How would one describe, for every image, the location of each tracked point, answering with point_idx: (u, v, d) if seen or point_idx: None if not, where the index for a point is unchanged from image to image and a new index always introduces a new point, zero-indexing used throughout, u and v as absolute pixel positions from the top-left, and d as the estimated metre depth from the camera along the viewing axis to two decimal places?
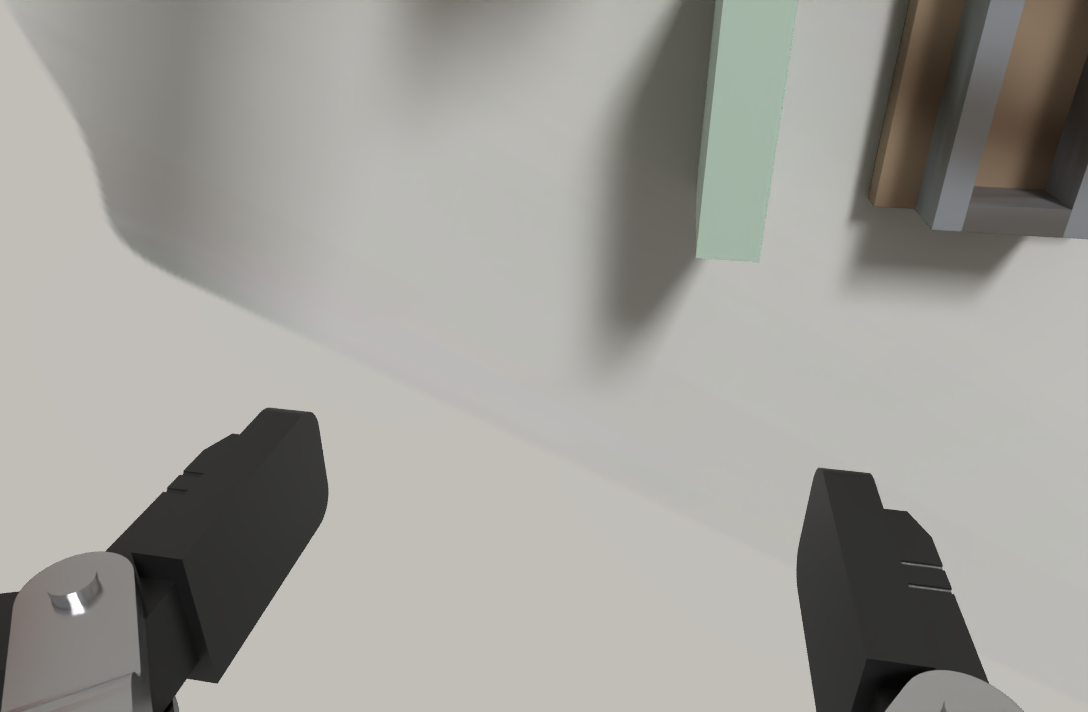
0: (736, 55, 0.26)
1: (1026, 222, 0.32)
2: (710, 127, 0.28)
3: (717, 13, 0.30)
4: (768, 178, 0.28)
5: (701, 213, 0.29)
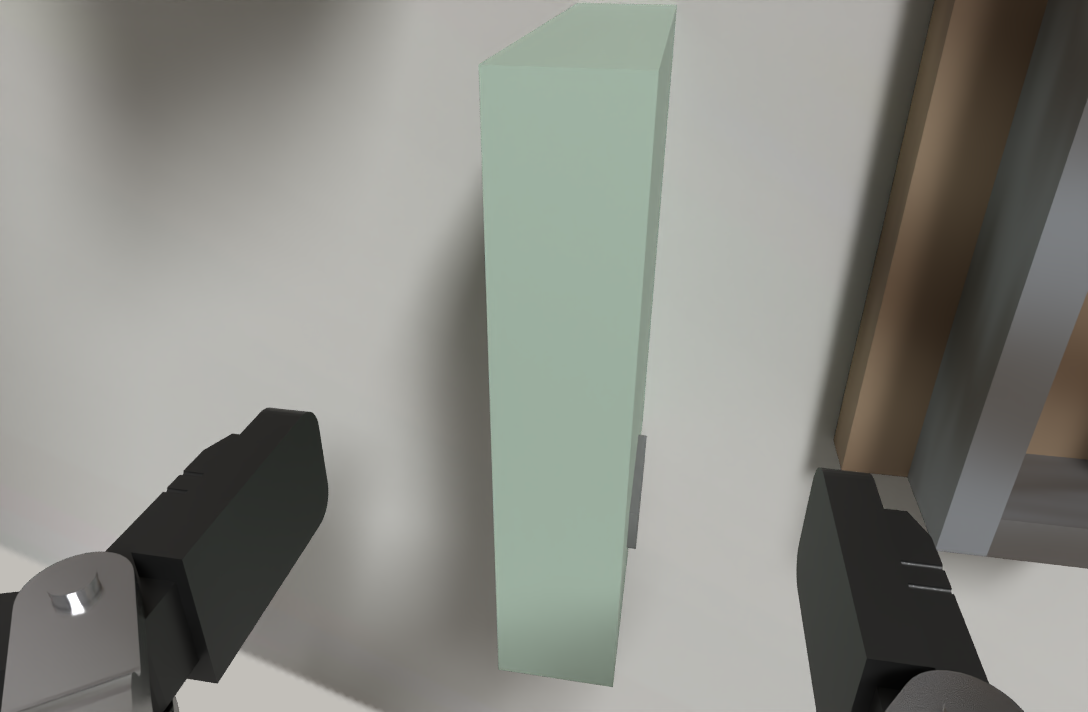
0: (527, 365, 0.12)
1: None
2: (494, 479, 0.14)
3: None
4: (615, 568, 0.14)
5: (498, 608, 0.15)
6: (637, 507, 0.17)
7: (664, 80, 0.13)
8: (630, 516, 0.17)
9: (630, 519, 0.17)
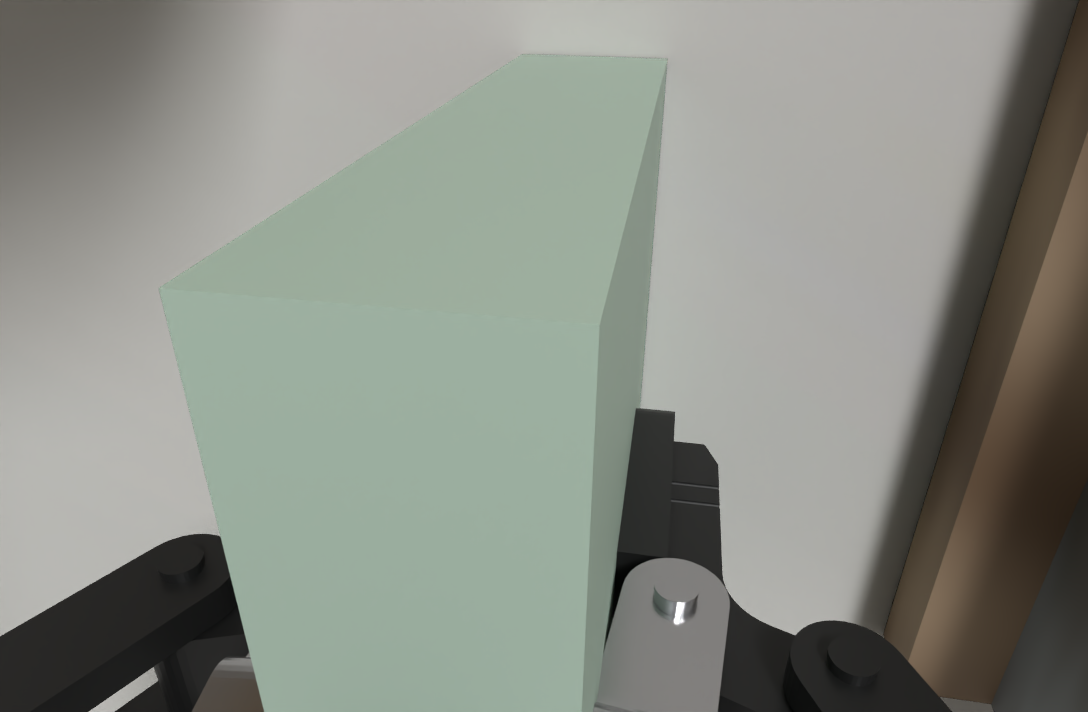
0: None
1: None
2: None
3: None
4: None
5: None
6: None
7: (637, 229, 0.07)
8: None
9: None
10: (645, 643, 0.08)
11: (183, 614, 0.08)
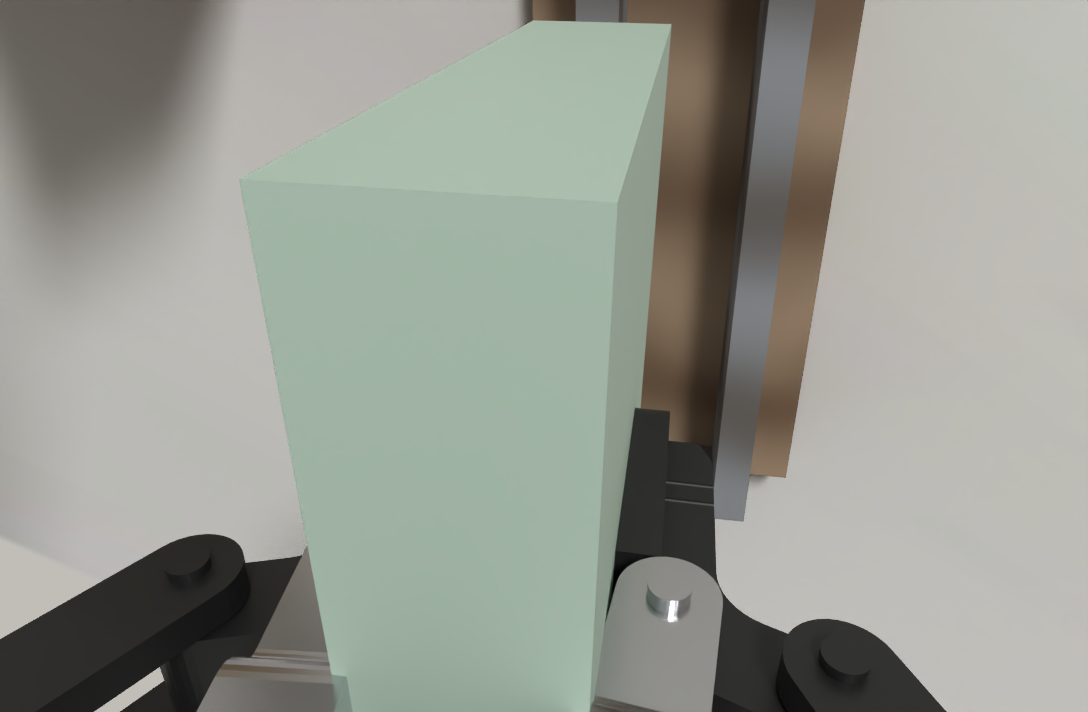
0: (397, 680, 0.07)
1: None
2: None
3: None
4: None
5: None
6: None
7: (645, 163, 0.08)
8: None
9: None
10: (638, 641, 0.08)
11: (189, 615, 0.08)
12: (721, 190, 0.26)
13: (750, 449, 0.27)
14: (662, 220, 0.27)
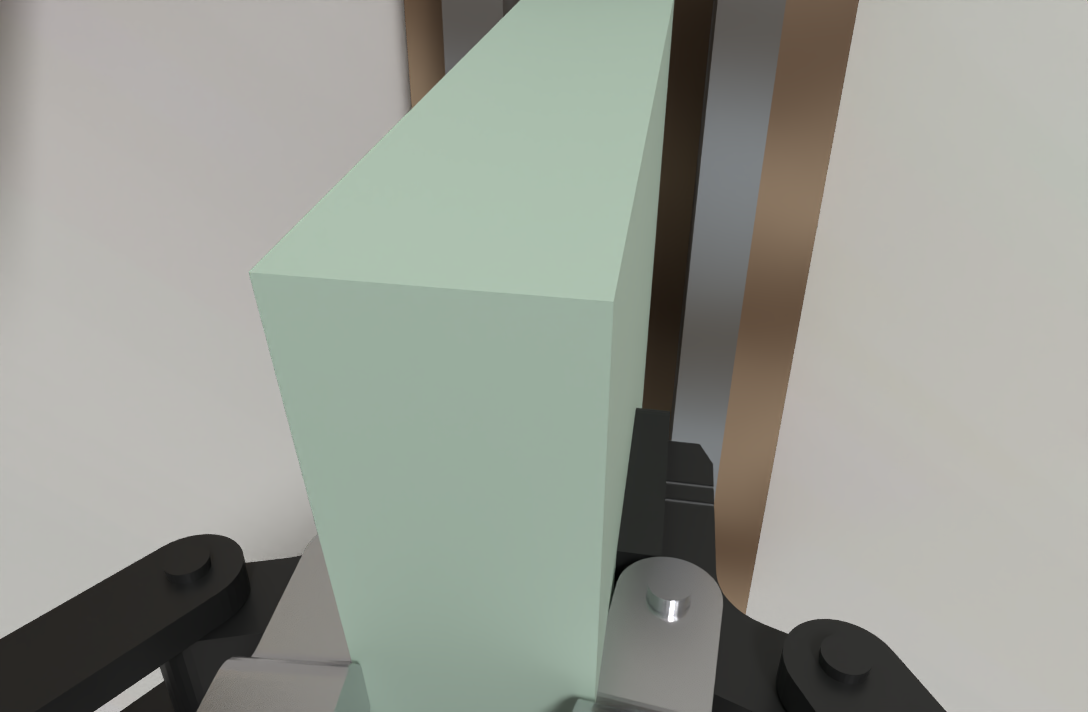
0: (417, 685, 0.08)
1: None
2: None
3: None
4: None
5: None
6: None
7: (645, 184, 0.08)
8: None
9: None
10: (638, 642, 0.08)
11: (190, 615, 0.08)
12: (659, 290, 0.20)
13: None
14: None
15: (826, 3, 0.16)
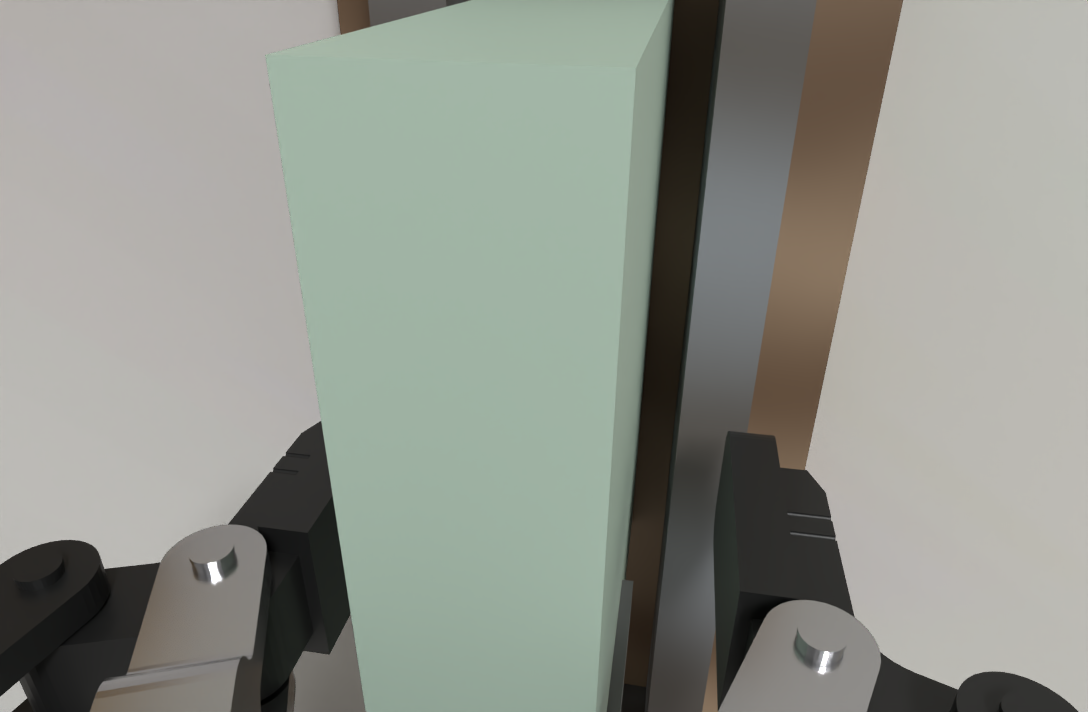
0: (412, 587, 0.07)
1: None
2: None
3: None
4: None
5: None
6: None
7: (654, 89, 0.08)
8: None
9: None
10: (798, 698, 0.08)
11: (34, 621, 0.08)
12: (652, 362, 0.17)
13: None
14: None
15: (858, 25, 0.13)
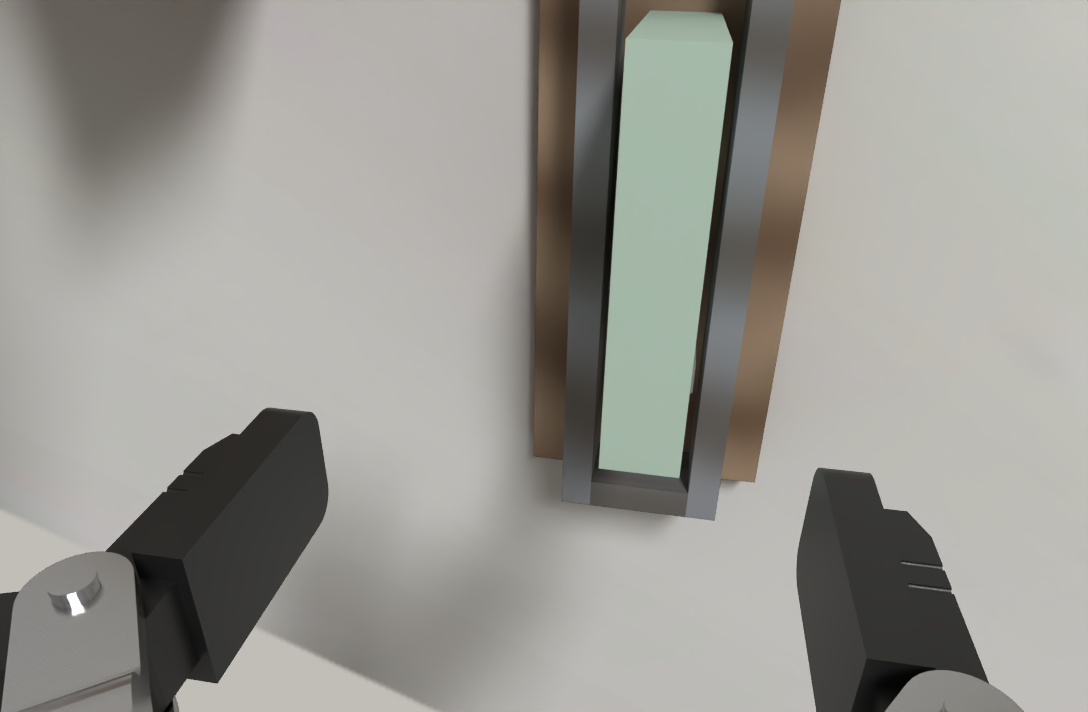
0: (639, 233, 0.20)
1: (648, 501, 0.32)
2: (609, 317, 0.21)
3: None
4: (687, 382, 0.21)
5: (603, 417, 0.22)
6: (694, 361, 0.24)
7: None
8: None
9: None
10: None
11: None
12: None
13: (721, 456, 0.30)
14: None
15: (815, 34, 0.26)
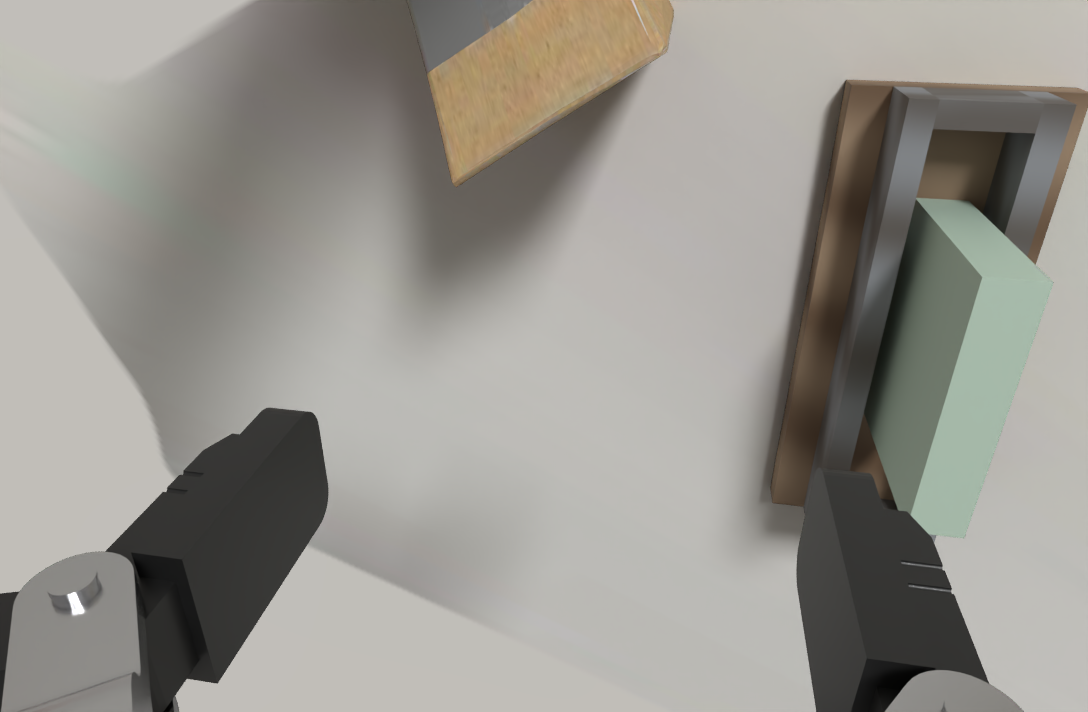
0: (967, 387, 0.30)
1: None
2: (934, 436, 0.31)
3: (923, 311, 0.34)
4: (982, 477, 0.32)
5: (916, 499, 0.33)
6: None
7: None
8: None
9: None
10: None
11: None
12: None
13: None
14: None
15: None
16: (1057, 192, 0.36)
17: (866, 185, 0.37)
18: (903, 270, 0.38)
